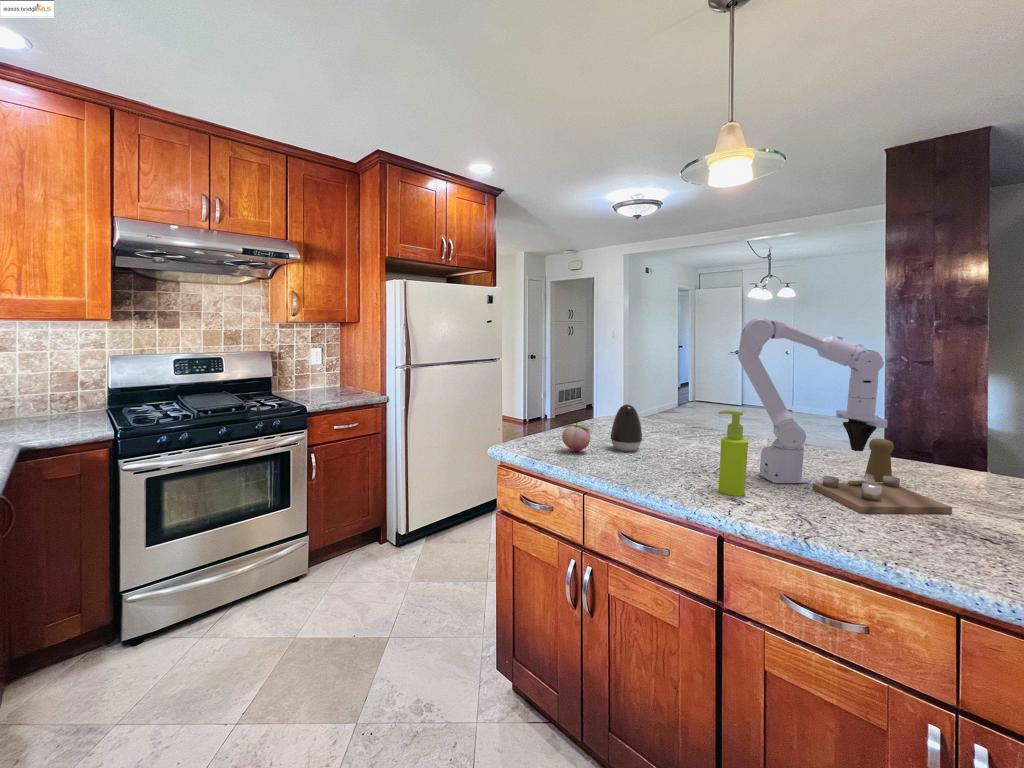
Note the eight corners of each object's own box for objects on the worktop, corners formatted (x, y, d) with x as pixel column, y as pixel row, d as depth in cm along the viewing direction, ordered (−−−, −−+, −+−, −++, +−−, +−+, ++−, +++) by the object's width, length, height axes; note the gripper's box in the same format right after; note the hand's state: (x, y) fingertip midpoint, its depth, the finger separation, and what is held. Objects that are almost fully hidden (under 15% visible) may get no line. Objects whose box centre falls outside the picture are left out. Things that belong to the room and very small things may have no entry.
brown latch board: (860, 513, 101) (862, 497, 101) (812, 488, 117) (813, 475, 117) (952, 513, 101) (953, 498, 101) (891, 489, 118) (892, 475, 117)
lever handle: (881, 501, 104) (882, 488, 103) (861, 498, 106) (862, 485, 105) (877, 487, 114) (878, 475, 113) (859, 484, 116) (860, 472, 115)
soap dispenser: (716, 485, 119) (720, 408, 117) (746, 491, 115) (751, 411, 113) (711, 492, 114) (716, 411, 112) (742, 497, 111) (747, 414, 108)
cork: (897, 483, 122) (901, 442, 121) (871, 482, 123) (875, 441, 122) (884, 476, 128) (888, 437, 127) (859, 475, 129) (862, 436, 128)
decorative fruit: (593, 450, 154) (594, 420, 153) (587, 456, 147) (587, 425, 146) (566, 447, 158) (566, 418, 157) (558, 453, 150) (559, 422, 149)
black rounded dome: (610, 453, 151) (612, 406, 150) (609, 445, 161) (611, 401, 160) (643, 454, 150) (645, 407, 148) (640, 446, 160) (641, 402, 158)
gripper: (902, 401, 110) (896, 458, 111) (856, 393, 124) (851, 443, 126) (872, 401, 110) (867, 458, 111) (829, 393, 124) (825, 443, 125)
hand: (857, 450), depth 118 cm, fingers closed
